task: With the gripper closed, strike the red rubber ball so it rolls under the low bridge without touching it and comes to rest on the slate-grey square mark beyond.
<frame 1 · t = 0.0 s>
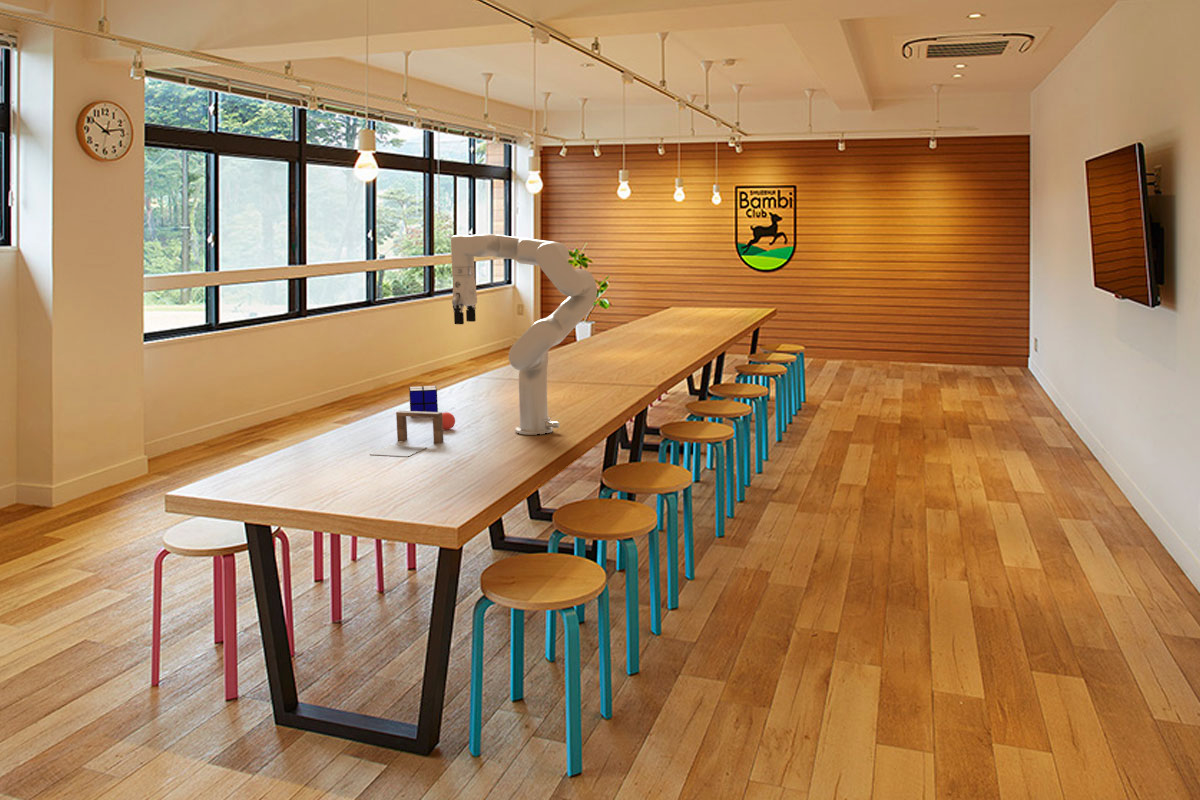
hand: (465, 322, 343), 37 cm above the table, tool pointing down, fingers open, 9 cm apart
bridge: (420, 441, 330), on the table
ball: (446, 421, 348), on the table
puzzle cube: (424, 415, 378), on the table
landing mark: (398, 451, 315), on the table
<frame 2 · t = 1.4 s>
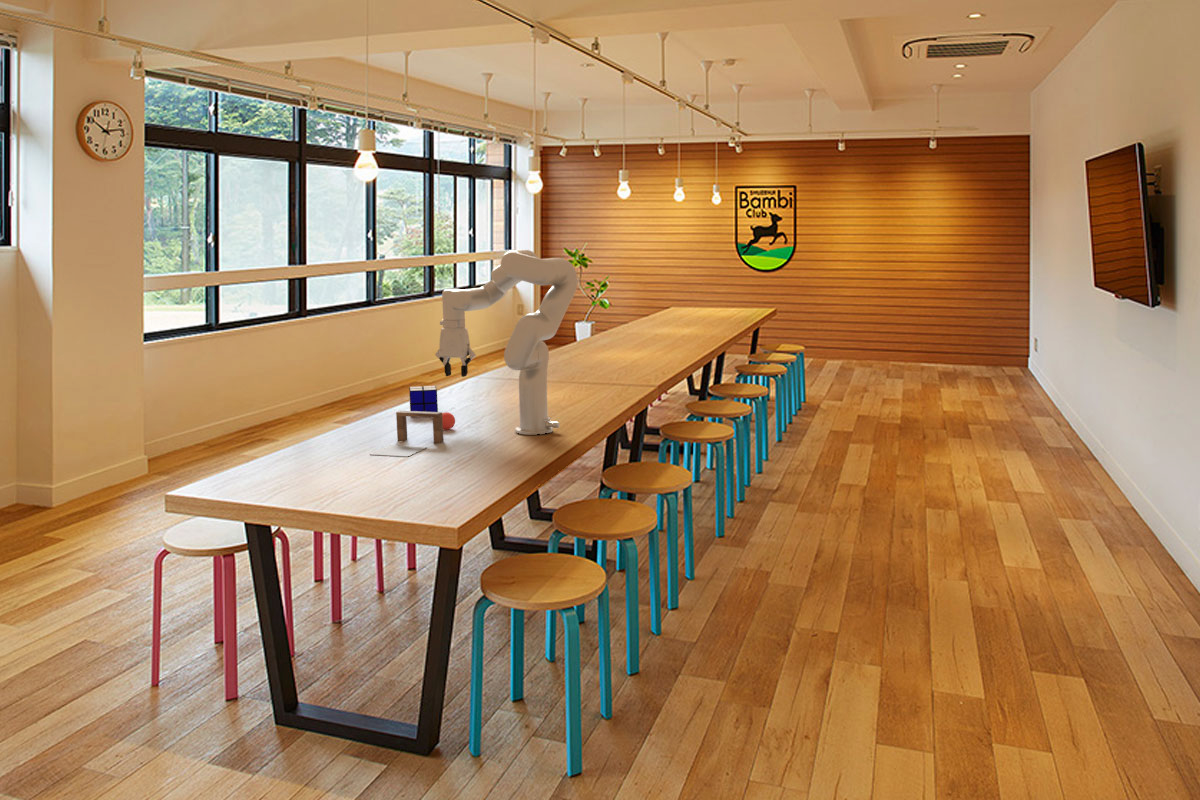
hand: (456, 375, 354), 17 cm above the table, tool pointing down, fingers open, 5 cm apart
nothing on the table moved.
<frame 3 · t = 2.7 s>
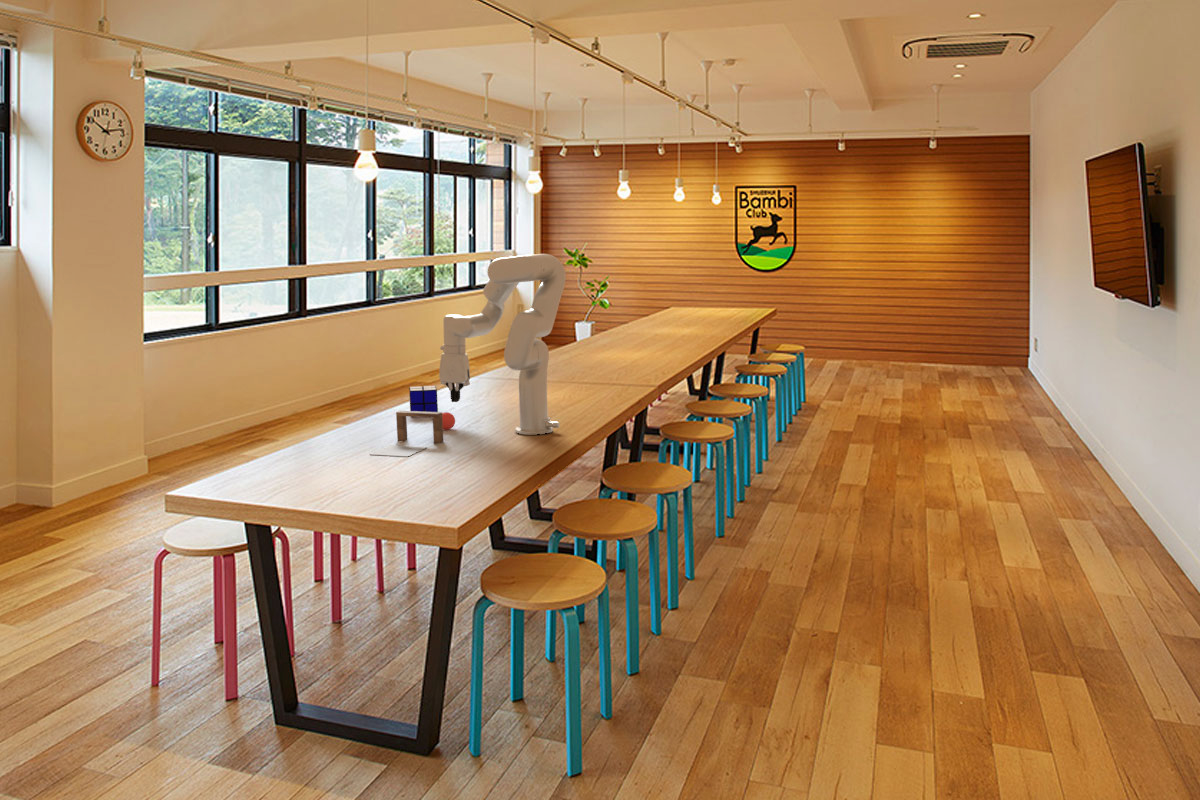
hand: (455, 401, 356), 8 cm above the table, tool pointing down, fingers closed
nothing on the table moved.
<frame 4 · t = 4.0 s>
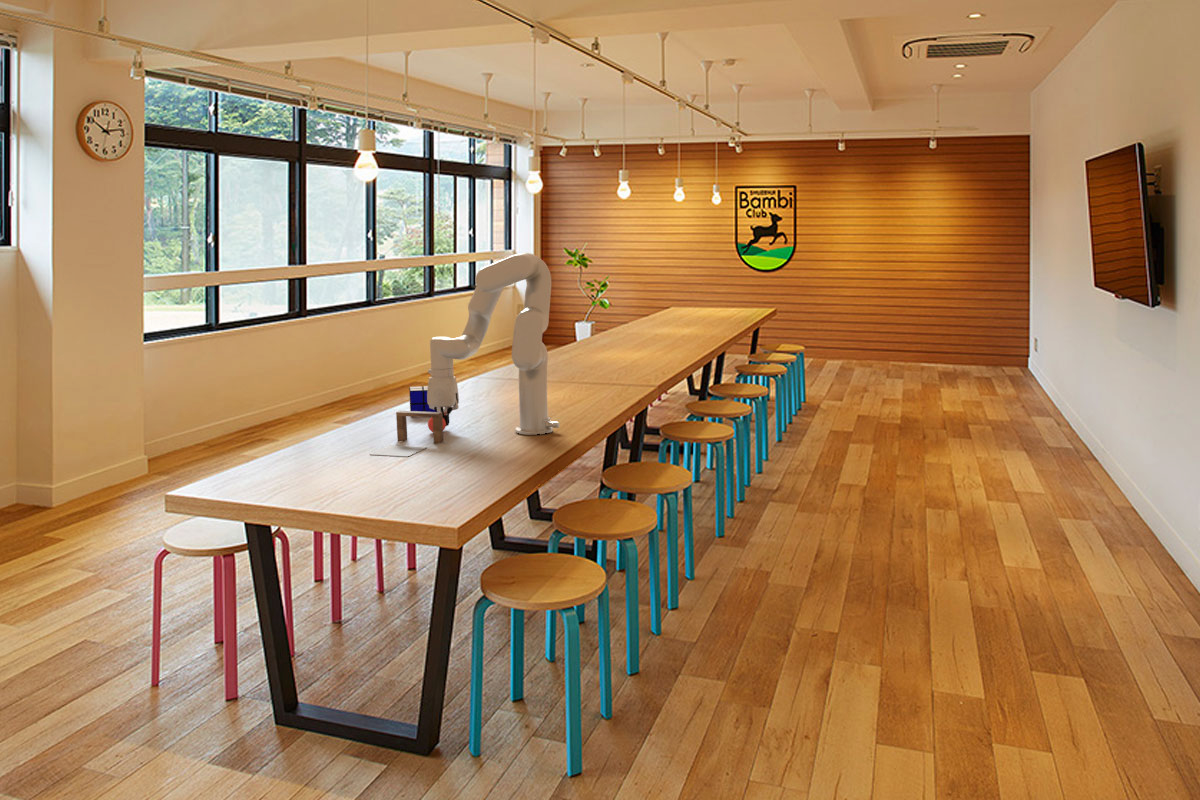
hand: (444, 425, 347), 2 cm above the table, tool pointing down, fingers closed
ball: (436, 424, 342), on the table
everything else where it was.
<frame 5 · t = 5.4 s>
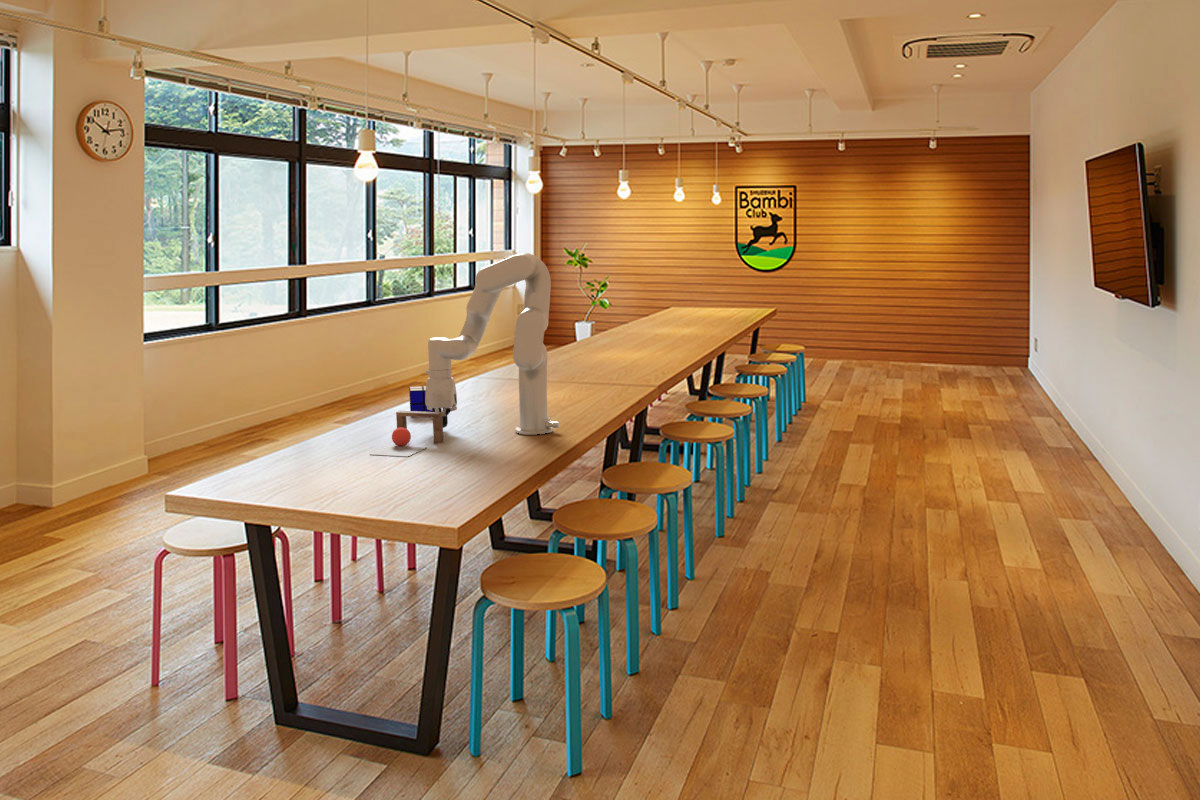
hand: (442, 426, 345), 2 cm above the table, tool pointing down, fingers closed
ball: (401, 436, 323), on the table
everything else where it was.
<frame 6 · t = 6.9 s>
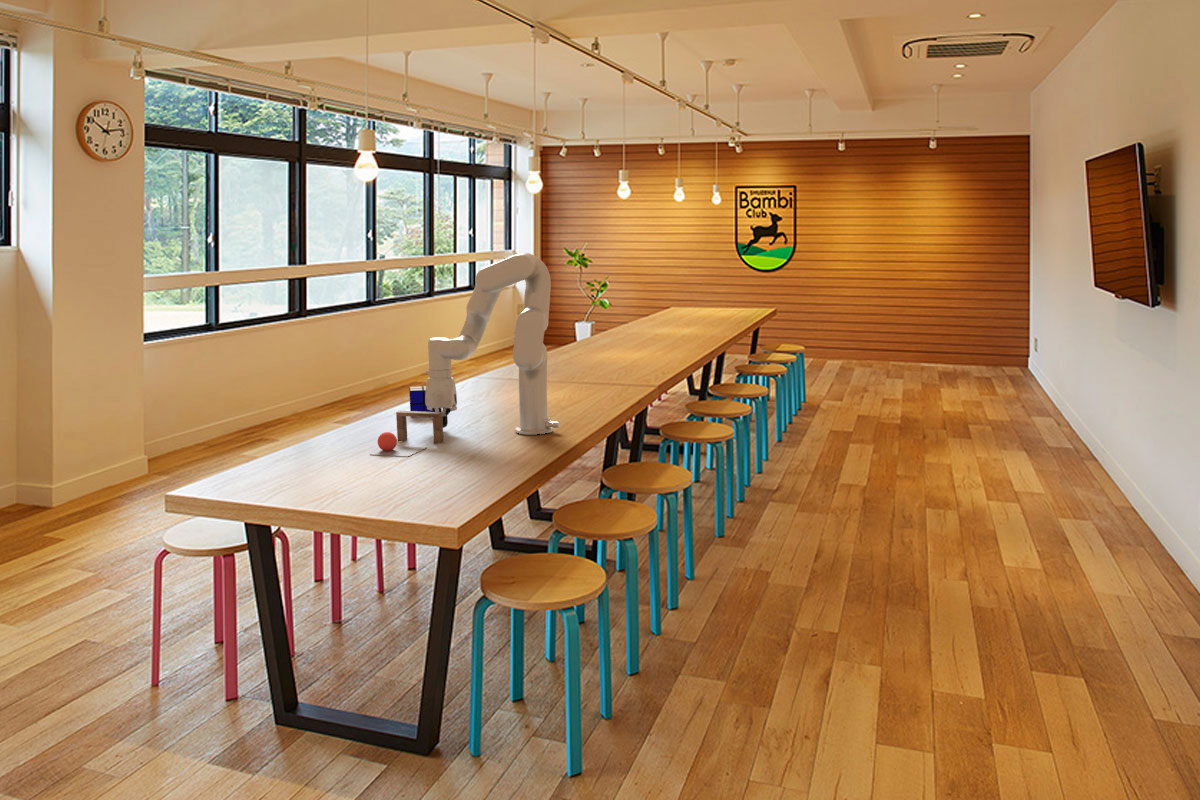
hand: (442, 426, 345), 2 cm above the table, tool pointing down, fingers closed
ball: (387, 441, 316), on the table
everything else where it was.
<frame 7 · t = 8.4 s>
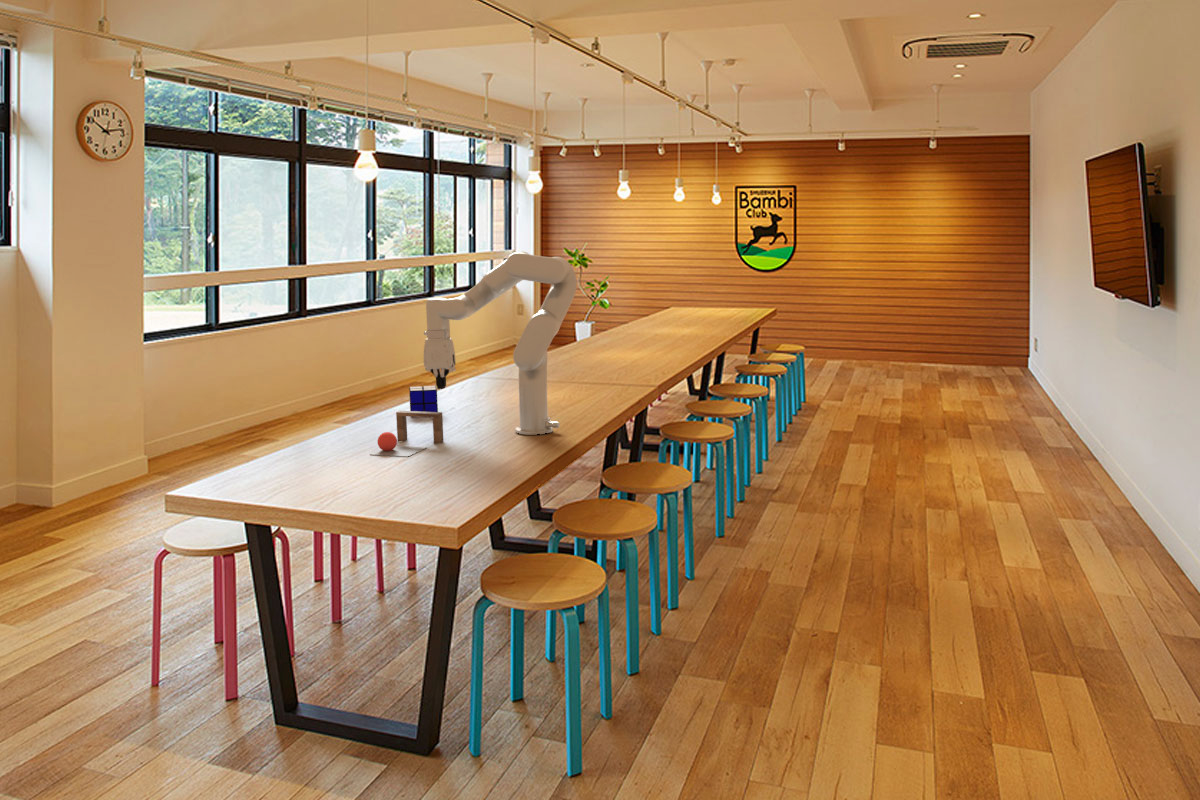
hand: (441, 388, 343), 15 cm above the table, tool pointing down, fingers closed
nothing on the table moved.
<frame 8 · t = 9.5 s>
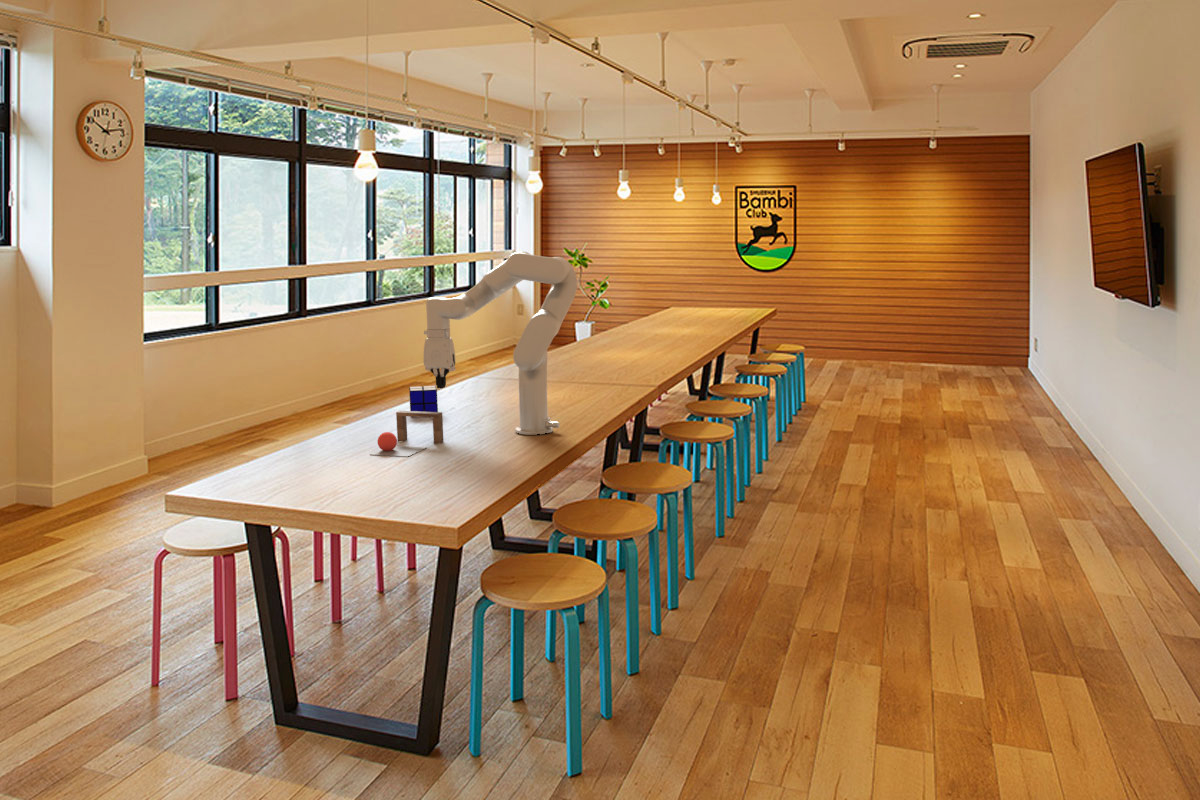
hand: (441, 387, 343), 15 cm above the table, tool pointing down, fingers closed
nothing on the table moved.
at the end: ball 3.7 cm from the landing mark (horizontally); ball never touched bridge; ball at rest at the end (0.0 cm/s) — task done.
